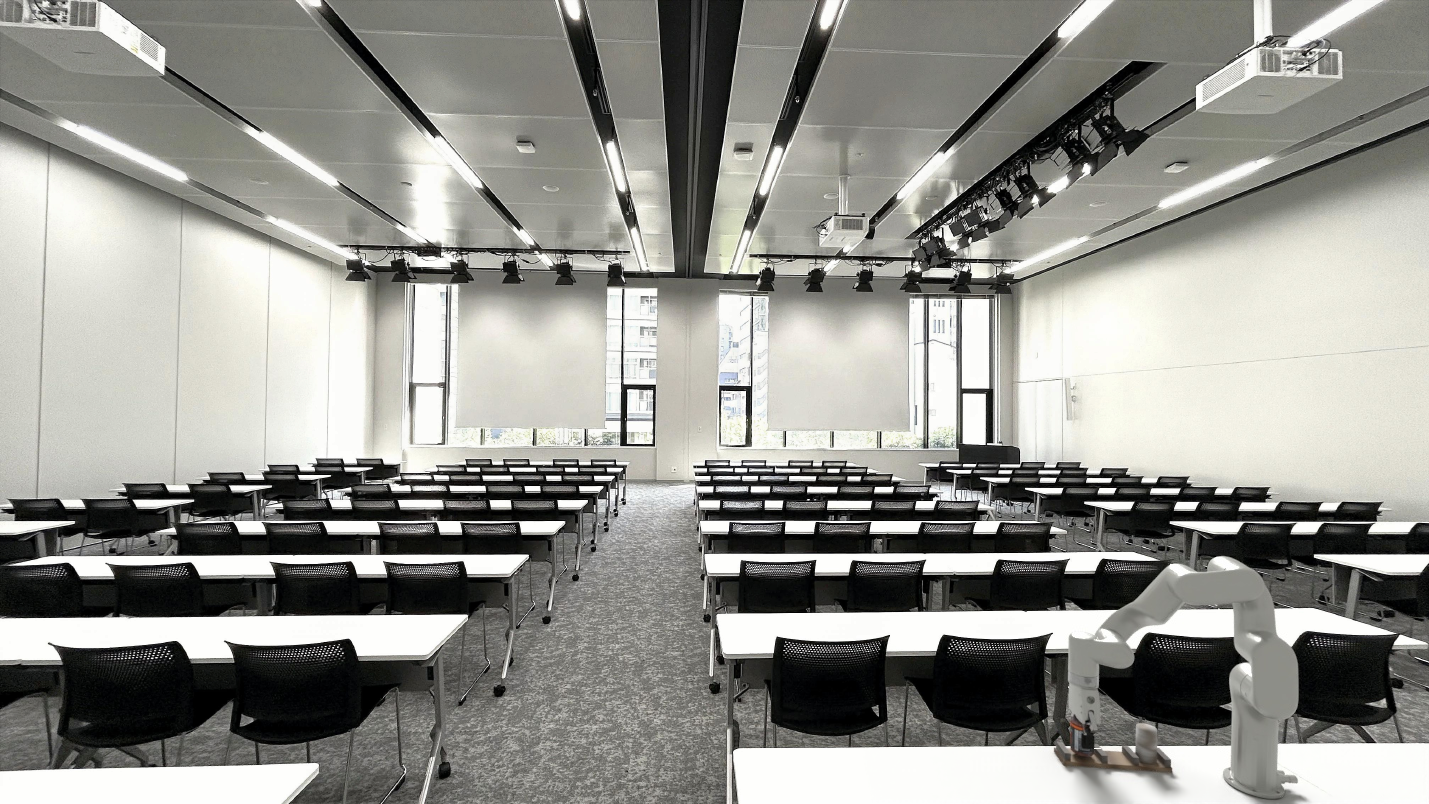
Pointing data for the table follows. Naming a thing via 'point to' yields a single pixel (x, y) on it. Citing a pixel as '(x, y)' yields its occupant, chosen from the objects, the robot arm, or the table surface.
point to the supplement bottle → (1078, 738)
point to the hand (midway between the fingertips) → (1082, 741)
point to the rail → (1122, 754)
